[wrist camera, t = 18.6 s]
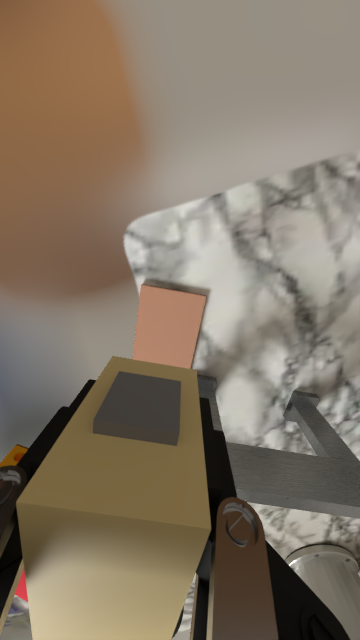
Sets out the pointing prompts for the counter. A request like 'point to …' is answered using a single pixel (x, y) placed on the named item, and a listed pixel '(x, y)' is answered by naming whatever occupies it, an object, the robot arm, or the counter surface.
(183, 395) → the tan rectangular block
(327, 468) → the grey u-shaped piece
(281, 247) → the counter surface
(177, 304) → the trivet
